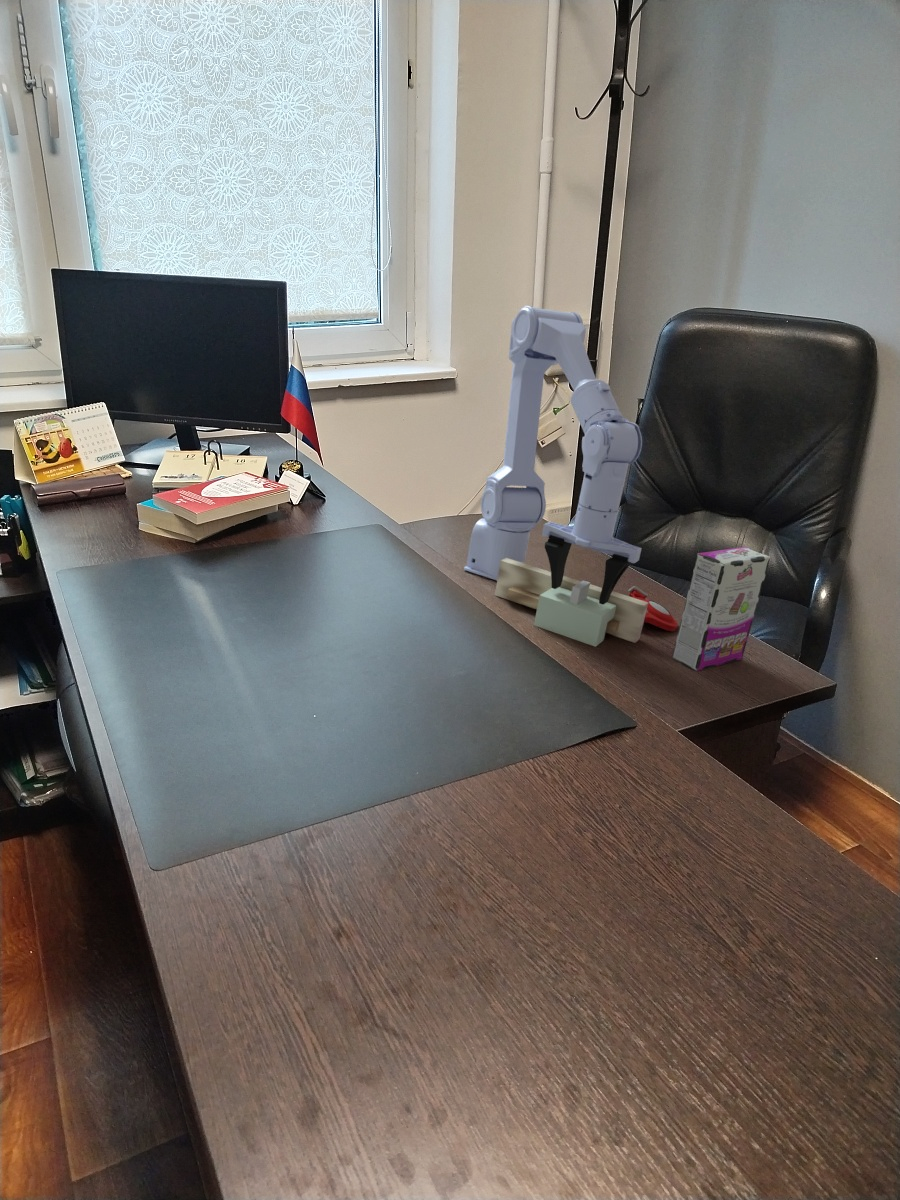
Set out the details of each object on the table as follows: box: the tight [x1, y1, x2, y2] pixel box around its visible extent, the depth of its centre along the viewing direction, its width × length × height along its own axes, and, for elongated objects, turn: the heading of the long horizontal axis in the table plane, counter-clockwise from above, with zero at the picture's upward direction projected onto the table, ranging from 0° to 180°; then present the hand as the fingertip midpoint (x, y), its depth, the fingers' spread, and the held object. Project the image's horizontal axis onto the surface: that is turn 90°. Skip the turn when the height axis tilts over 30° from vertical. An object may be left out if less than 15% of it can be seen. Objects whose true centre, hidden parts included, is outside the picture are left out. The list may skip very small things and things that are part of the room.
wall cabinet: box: [533, 580, 617, 647], centre depth 124 cm, size 10×6×8 cm, turn 59°
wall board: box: [494, 558, 648, 644], centre depth 129 cm, size 24×4×6 cm, turn 59°
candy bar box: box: [671, 546, 771, 672], centre depth 120 cm, size 11×5×16 cm, turn 126°
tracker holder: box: [627, 585, 679, 632], centre depth 134 cm, size 12×4×10 cm
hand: (579, 594), depth 124 cm, fingers open, 7 cm apart
